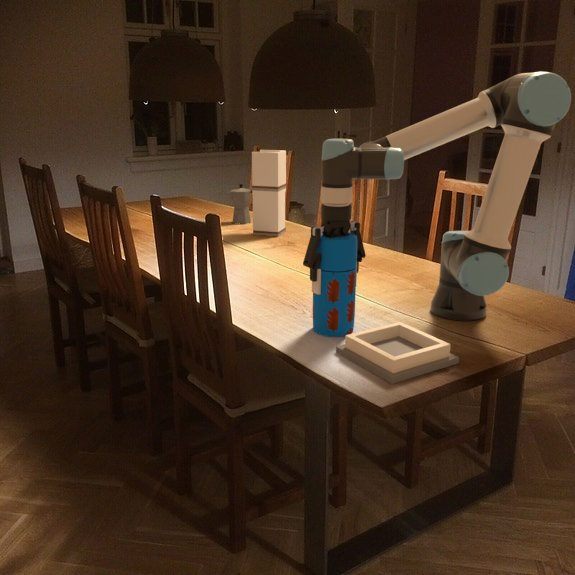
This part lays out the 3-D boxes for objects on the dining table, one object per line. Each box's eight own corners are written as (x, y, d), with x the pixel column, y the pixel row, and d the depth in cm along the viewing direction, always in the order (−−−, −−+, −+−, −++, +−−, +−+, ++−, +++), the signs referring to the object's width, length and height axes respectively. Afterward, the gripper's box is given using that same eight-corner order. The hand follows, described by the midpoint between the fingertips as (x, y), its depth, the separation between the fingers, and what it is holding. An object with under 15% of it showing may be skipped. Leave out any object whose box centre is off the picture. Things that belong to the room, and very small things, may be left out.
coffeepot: (232, 225, 290) (231, 186, 284) (224, 221, 298) (223, 183, 292) (262, 222, 296) (262, 184, 291) (254, 219, 304) (254, 181, 299)
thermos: (362, 329, 165) (366, 235, 157) (337, 340, 157) (340, 242, 149) (329, 319, 172) (331, 229, 164) (304, 329, 164) (305, 235, 156)
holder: (399, 335, 160) (400, 319, 159) (458, 363, 144) (460, 344, 143) (335, 352, 150) (336, 334, 149) (392, 384, 134) (393, 364, 133)
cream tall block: (285, 231, 277) (286, 150, 267) (278, 236, 267) (278, 152, 257) (261, 230, 280) (260, 149, 270) (253, 235, 271) (251, 152, 260)
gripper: (362, 197, 164) (359, 278, 170) (288, 206, 151) (288, 293, 158) (382, 201, 158) (378, 285, 164) (306, 210, 145) (305, 301, 152)
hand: (334, 289), depth 161 cm, fingers closed on thermos, 11 cm apart
